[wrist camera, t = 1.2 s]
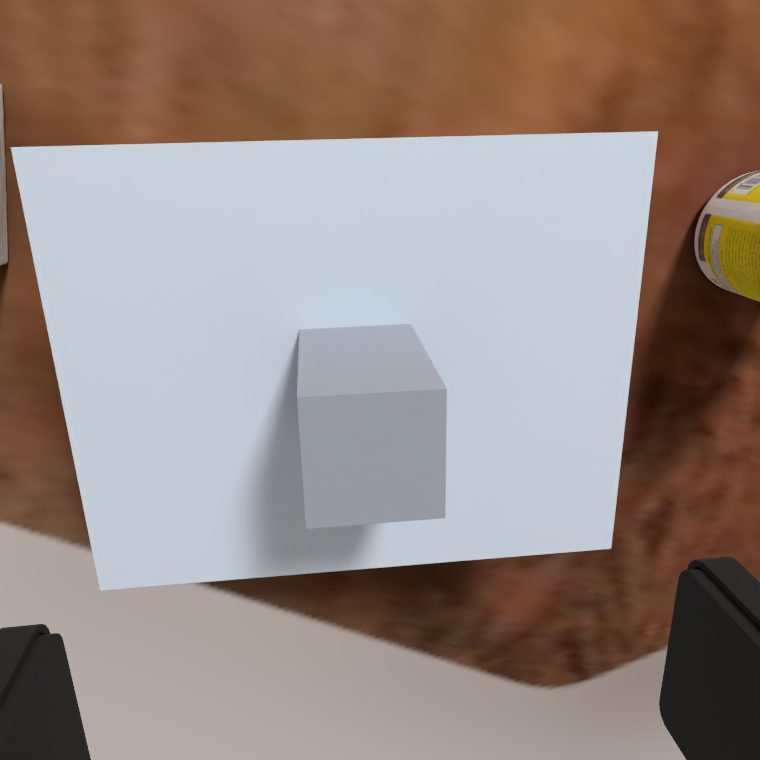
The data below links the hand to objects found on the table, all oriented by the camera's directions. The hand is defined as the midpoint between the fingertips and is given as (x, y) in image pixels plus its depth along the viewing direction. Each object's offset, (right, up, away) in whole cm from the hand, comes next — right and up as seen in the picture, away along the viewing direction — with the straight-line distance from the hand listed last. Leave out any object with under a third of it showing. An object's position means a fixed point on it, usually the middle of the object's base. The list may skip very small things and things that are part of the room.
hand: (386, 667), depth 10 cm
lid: (-1, +5, +13) cm, 14 cm away
